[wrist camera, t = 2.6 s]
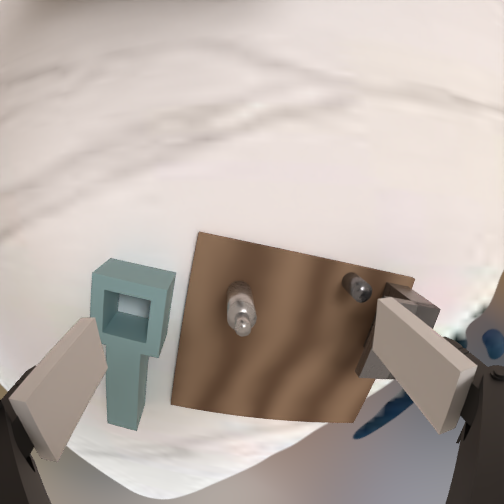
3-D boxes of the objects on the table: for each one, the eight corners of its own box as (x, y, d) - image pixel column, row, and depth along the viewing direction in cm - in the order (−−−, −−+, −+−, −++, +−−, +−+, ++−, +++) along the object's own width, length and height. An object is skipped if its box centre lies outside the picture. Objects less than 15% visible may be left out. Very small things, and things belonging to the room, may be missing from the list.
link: (110, 258, 31) (92, 272, 26) (176, 272, 31) (167, 290, 27) (105, 393, 34) (93, 418, 30) (158, 407, 35) (151, 434, 30)
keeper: (321, 341, 34) (340, 376, 27) (344, 270, 32) (371, 294, 25) (384, 348, 35) (409, 379, 28) (408, 283, 33) (441, 306, 26)
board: (171, 401, 35) (170, 404, 35) (199, 231, 31) (198, 232, 30) (351, 420, 38) (353, 422, 38) (412, 277, 34) (415, 278, 33)
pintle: (224, 298, 32) (224, 340, 24) (229, 276, 32) (230, 312, 24) (248, 303, 33) (254, 345, 24) (253, 281, 32) (262, 318, 24)
